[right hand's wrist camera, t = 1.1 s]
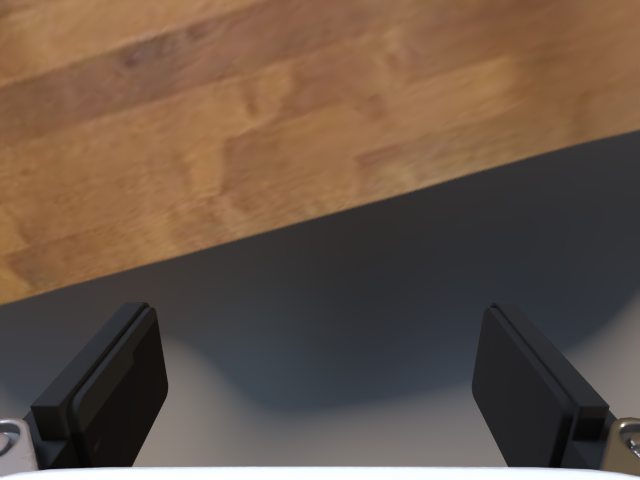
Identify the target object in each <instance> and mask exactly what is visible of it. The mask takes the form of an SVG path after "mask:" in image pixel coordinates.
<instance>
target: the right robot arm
mask: <svg viewBox="0 0 640 480" xmlns="http://www.w3.org/2000/svg"><path fill="white" fill-rule="evenodd" d="M167 393H168V381H167V374H166V368H165V362H164V356H163V351H162V344H161V338H160V332H159V326H158V320H157V314H156V310H155V309H154V308H150V306H149V304H148V303H125V304H123V305H122V307H121V308H120V309H119V310H118V311H117V312H116V313H115V314H114V315H113V316H112V317H111V319H110V320H109V321H108V322H107V323H106V324H105V325H104V326H103V327H102V328H101V330H100V331H99V332H98V333H97V334H96V335H95V336H94V337H93V338H92V339H91V341H90V342H89V343H88V344H87V345H86V346H85V347H84V348H83V349H82V350H81V351H80V353H79V354H78V355H77V356H76V357H75V358H74V359H73V360H72V361H71V362H70V364H69V365H68V366H67V367H66V368H65V369H64V370H63V371H62V372H61V373H60V374H59V376H58V377H57V378H56V379H55V380H54V381H53V382H52V383H51V384H50V385H49V386H48V388H47V389H46V390H45V391H44V392H43V393H42V394H41V395H40V396H39V398H38V399H37V400H36V401H35V402H34V403H33V404H32V405H31V411H30V412H29V413H28V414H27V415H26V416H25V417H24V418H23V419H20V418H11V417H9V418H2V419H0V480H640V419H638V418H631V417H629V418H620V419H617V418H616V417H615V416H614V415H613V414H612V413H611V412H610V411H609V405H608V404H607V403H606V402H605V401H604V400H603V399H602V397H601V396H600V395H599V394H598V393H597V392H596V391H595V390H594V389H593V388H592V386H591V385H590V384H589V383H588V382H587V381H586V380H585V379H584V378H583V377H582V376H581V374H580V373H579V372H578V371H577V370H576V369H575V368H574V367H573V366H572V365H571V363H570V362H569V361H568V360H567V359H566V358H565V357H564V356H563V355H562V354H561V353H560V351H559V350H558V349H557V348H556V347H555V346H554V345H553V344H552V343H551V342H550V340H549V339H548V338H547V337H546V336H545V335H544V334H543V333H542V332H541V331H540V329H539V328H538V327H537V326H536V325H535V324H534V323H533V322H532V321H531V320H530V319H529V317H528V316H527V315H526V314H525V313H524V312H523V311H522V310H521V309H520V308H519V306H518V305H517V304H515V303H492V304H491V306H490V308H486V309H485V310H484V314H483V320H482V326H481V332H480V338H479V344H478V350H477V356H476V362H475V368H474V374H473V381H472V393H473V397H474V399H475V401H476V403H477V405H478V407H479V409H480V411H481V413H482V415H483V417H484V419H485V421H486V423H487V425H488V427H489V429H490V431H491V433H492V435H493V437H494V439H495V441H496V443H497V445H498V447H499V449H500V451H501V453H502V455H503V457H504V459H505V461H506V463H507V465H508V467H132V465H133V463H134V461H135V459H136V457H137V455H138V453H139V451H140V449H141V447H142V445H143V443H144V441H145V439H146V437H147V435H148V433H149V431H150V429H151V427H152V425H153V423H154V421H155V419H156V417H157V415H158V413H159V411H160V409H161V407H162V405H163V403H164V401H165V399H166V397H167Z"/></svg>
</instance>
